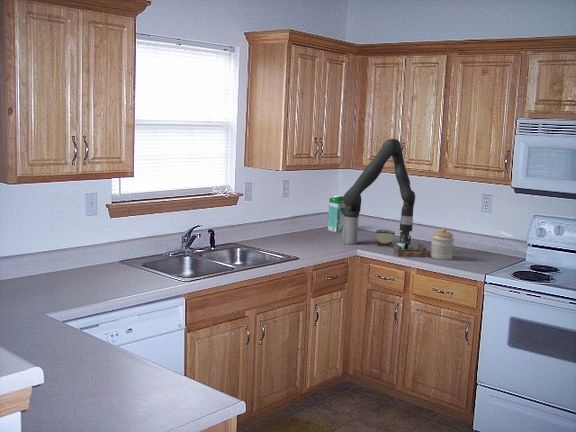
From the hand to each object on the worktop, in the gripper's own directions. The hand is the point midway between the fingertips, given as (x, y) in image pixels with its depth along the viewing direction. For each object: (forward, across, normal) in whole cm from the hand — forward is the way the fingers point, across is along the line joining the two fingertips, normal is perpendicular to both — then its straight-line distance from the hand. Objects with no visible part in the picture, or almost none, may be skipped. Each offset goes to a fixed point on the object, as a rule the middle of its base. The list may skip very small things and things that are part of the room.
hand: (404, 250), depth 407 cm
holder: (+1, +10, 0) cm, 10 cm away
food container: (+1, -16, -8) cm, 18 cm away
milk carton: (+1, -65, -28) cm, 71 cm away
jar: (+1, +15, +18) cm, 23 cm away
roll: (-2, 0, 0) cm, 2 cm away
